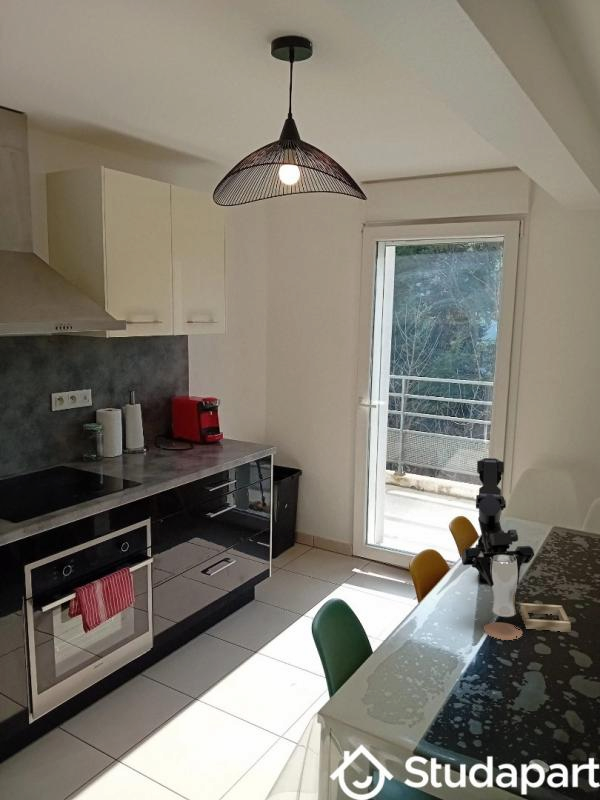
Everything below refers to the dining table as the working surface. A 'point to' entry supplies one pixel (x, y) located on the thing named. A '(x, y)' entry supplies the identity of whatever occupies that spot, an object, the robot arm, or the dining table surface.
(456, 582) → the dining table surface
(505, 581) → the beer glass
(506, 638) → the mat
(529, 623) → the pocket frame
